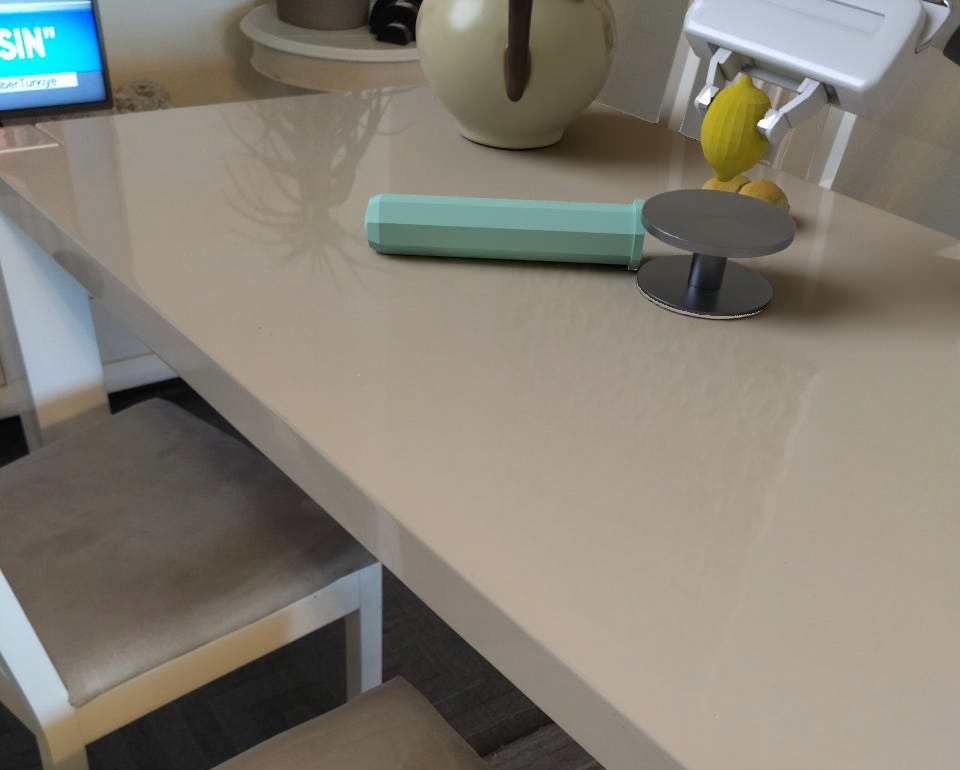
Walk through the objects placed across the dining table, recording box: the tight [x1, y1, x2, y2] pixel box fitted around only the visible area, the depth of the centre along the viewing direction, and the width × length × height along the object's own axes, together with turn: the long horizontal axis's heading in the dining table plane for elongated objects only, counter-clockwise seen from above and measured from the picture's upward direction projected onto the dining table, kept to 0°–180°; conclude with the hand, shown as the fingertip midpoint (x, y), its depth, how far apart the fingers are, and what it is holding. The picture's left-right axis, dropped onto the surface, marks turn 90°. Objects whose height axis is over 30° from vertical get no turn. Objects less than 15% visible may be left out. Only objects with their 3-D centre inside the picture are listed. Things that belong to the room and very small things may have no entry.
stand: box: [636, 188, 797, 316], centre depth 85 cm, size 13×13×6 cm
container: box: [363, 192, 646, 270], centre depth 88 cm, size 6×6×25 cm
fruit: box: [700, 73, 773, 182], centre depth 78 cm, size 6×6×8 cm
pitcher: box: [415, 0, 618, 150], centre depth 106 cm, size 22×24×25 cm
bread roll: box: [700, 173, 791, 215], centre depth 98 cm, size 8×9×4 cm
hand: (732, 124), depth 77 cm, fingers closed on fruit, 5 cm apart
